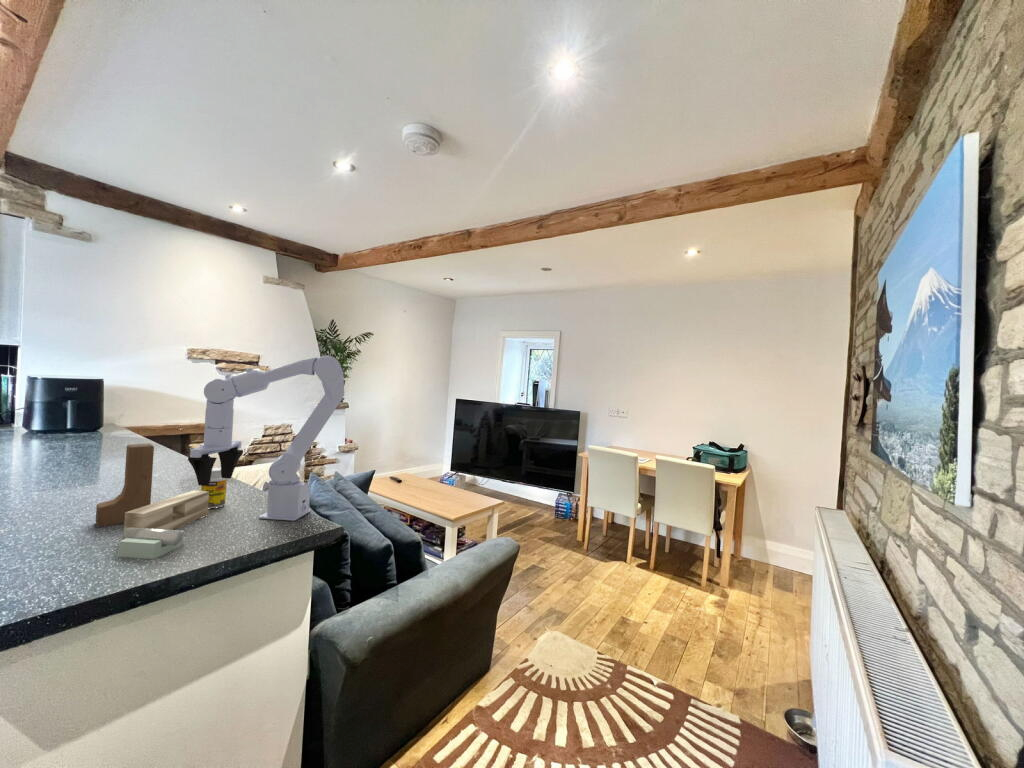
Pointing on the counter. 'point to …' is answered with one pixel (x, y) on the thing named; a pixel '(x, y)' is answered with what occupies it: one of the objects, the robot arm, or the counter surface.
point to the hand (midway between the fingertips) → (215, 481)
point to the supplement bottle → (216, 489)
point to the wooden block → (130, 486)
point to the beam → (169, 512)
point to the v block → (145, 548)
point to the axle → (154, 535)
